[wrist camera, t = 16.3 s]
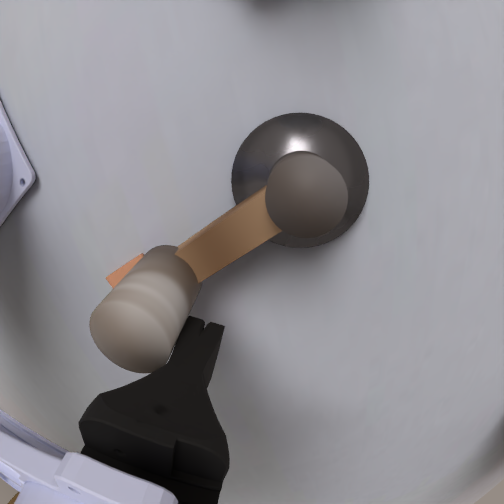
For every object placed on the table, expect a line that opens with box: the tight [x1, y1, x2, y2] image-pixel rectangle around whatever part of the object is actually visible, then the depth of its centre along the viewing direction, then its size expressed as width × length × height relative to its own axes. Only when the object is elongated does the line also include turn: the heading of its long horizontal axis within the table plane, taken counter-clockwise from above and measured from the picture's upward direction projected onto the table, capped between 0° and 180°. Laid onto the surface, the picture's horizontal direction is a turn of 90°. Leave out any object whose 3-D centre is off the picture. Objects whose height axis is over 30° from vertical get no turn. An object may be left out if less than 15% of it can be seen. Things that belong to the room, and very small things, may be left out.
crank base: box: [231, 113, 369, 248], centre depth 14 cm, size 6×6×1 cm
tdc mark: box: [106, 253, 144, 288], centre depth 17 cm, size 3×2×1 cm, turn 121°
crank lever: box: [89, 151, 348, 373], centre depth 11 cm, size 10×3×6 cm, turn 126°
